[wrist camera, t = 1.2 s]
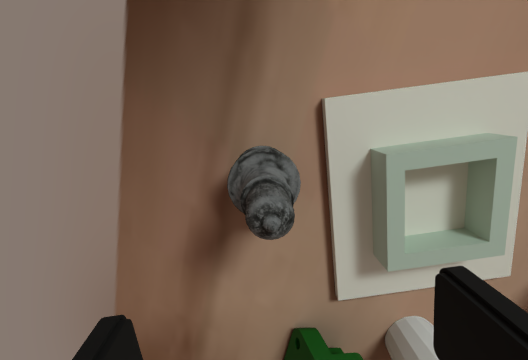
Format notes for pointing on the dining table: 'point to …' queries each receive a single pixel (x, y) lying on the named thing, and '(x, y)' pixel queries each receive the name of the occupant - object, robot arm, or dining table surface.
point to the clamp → (314, 347)
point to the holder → (424, 182)
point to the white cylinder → (411, 339)
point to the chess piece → (265, 190)
